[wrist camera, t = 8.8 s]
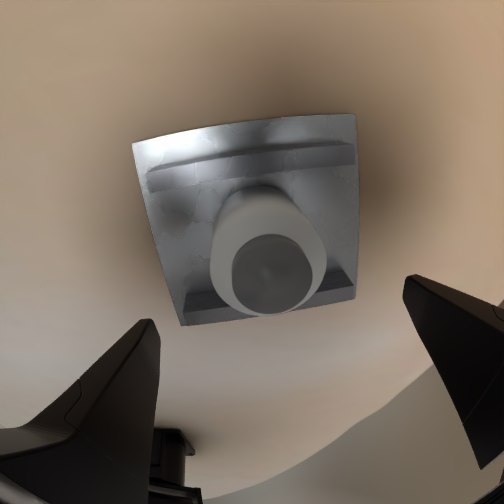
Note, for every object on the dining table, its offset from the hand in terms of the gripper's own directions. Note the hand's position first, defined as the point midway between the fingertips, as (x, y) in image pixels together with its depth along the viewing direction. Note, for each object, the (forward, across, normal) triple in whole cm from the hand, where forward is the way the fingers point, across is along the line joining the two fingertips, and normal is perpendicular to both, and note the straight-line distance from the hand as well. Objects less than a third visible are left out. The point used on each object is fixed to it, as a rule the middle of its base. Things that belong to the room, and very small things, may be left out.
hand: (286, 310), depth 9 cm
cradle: (+8, 0, 0) cm, 8 cm away
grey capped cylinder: (+8, 0, 0) cm, 8 cm away
